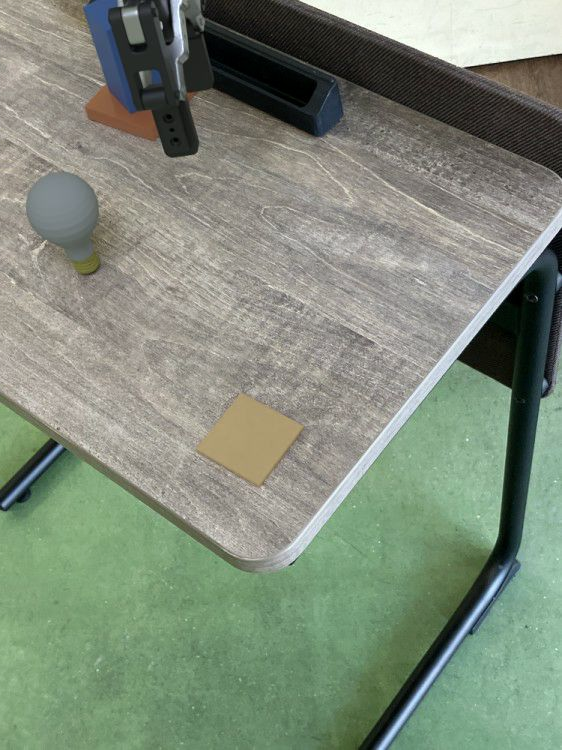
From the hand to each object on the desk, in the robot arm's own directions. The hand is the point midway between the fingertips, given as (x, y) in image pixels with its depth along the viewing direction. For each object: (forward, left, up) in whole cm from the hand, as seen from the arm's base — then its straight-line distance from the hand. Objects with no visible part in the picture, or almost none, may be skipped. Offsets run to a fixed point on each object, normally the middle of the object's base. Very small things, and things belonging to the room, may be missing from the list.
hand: (192, 119), depth 63 cm
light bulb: (+10, -7, -17) cm, 21 cm away
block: (-1, -24, -15) cm, 29 cm away
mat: (+4, +14, -17) cm, 23 cm away
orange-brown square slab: (-1, -24, -17) cm, 29 cm away
